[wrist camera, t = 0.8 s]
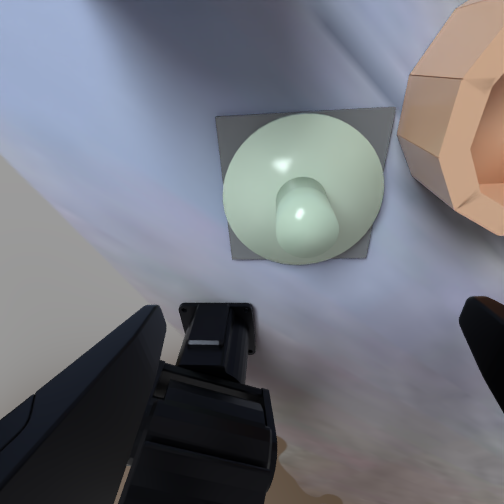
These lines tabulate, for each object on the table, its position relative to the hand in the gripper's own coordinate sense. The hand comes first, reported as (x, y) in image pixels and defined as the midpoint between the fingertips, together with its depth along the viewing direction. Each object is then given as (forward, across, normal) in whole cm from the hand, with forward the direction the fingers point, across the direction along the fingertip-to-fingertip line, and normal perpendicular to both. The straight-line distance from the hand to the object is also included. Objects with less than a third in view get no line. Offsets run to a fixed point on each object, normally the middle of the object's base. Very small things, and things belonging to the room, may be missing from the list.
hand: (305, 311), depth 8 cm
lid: (+12, -1, +1) cm, 12 cm away
